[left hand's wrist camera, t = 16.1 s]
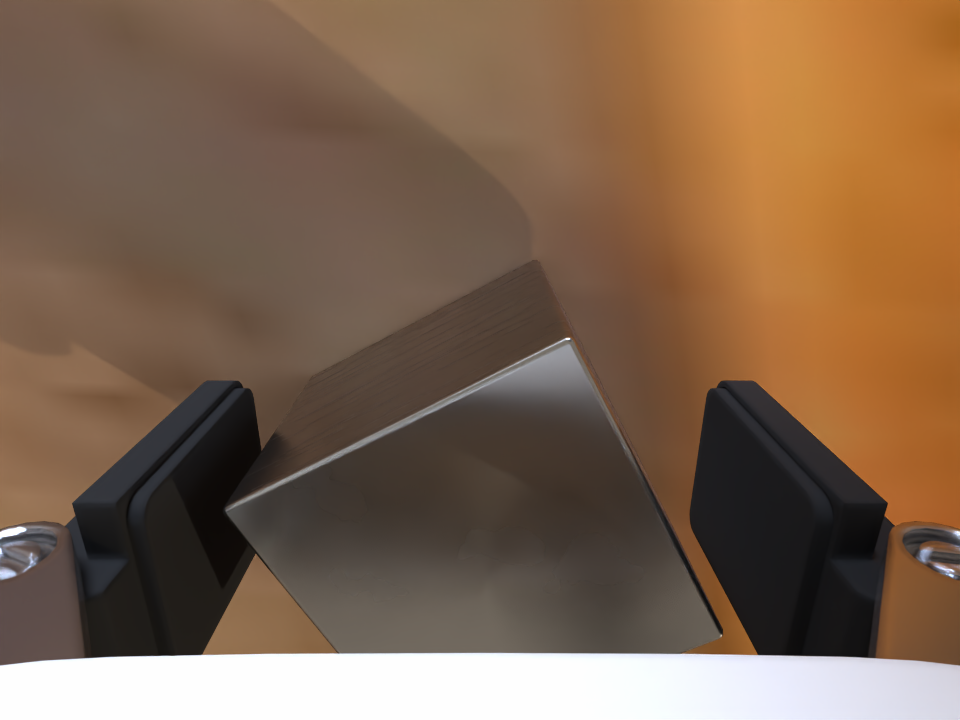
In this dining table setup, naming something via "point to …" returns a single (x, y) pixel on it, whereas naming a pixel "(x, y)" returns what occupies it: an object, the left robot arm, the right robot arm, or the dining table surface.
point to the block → (471, 495)
